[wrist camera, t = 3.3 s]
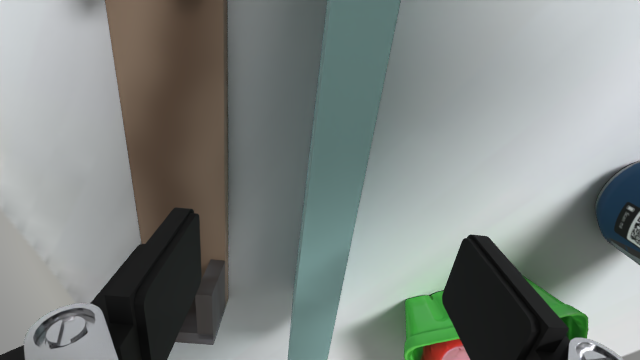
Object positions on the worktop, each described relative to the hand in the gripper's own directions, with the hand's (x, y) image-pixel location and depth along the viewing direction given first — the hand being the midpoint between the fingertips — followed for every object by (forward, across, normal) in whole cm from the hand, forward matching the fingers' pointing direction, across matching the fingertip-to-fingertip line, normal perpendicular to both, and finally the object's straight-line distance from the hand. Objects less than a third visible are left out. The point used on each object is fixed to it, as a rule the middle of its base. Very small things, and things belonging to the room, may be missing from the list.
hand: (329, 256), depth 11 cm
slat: (+10, 0, -1) cm, 10 cm away
